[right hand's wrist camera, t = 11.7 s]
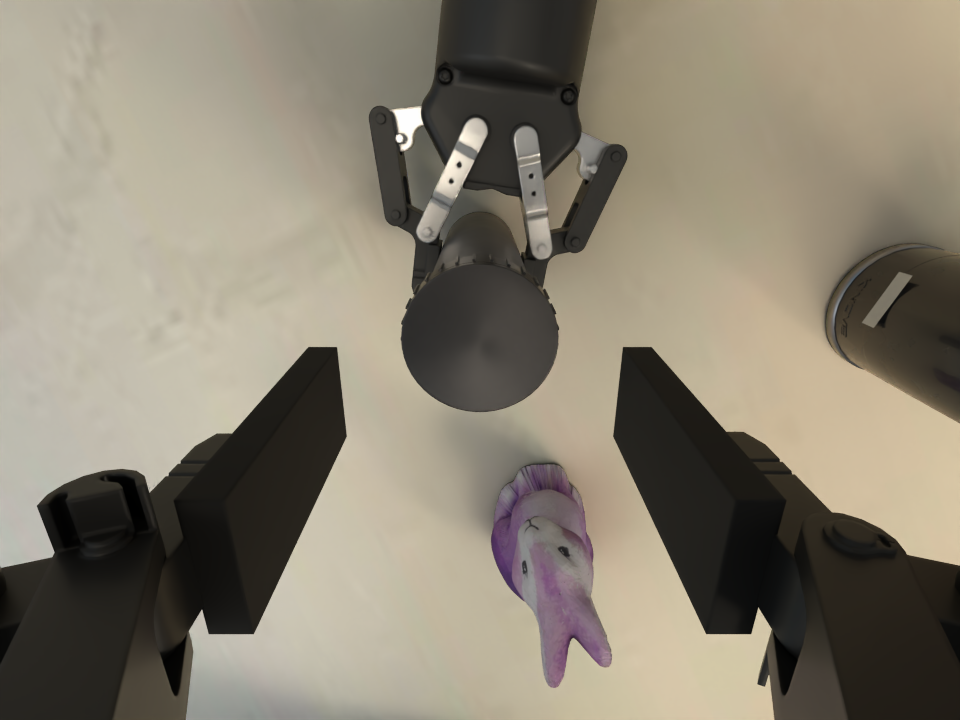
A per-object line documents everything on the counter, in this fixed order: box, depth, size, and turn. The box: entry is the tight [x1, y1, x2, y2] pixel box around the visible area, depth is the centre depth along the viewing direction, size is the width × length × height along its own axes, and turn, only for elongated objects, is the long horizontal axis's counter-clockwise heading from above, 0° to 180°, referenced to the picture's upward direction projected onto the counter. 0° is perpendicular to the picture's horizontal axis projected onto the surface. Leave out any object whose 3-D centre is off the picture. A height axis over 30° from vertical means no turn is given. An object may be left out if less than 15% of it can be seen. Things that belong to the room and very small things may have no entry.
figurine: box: [491, 464, 612, 688], centre depth 37 cm, size 9×10×15 cm
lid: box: [401, 253, 559, 412], centre depth 19 cm, size 6×6×2 cm
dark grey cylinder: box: [434, 212, 527, 272], centre depth 27 cm, size 5×5×19 cm
